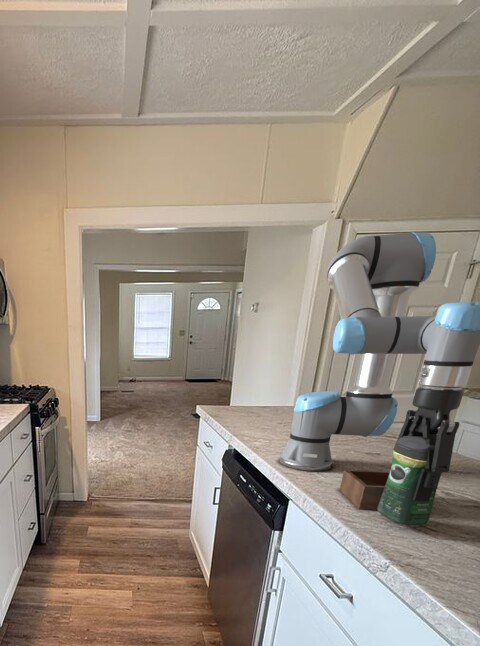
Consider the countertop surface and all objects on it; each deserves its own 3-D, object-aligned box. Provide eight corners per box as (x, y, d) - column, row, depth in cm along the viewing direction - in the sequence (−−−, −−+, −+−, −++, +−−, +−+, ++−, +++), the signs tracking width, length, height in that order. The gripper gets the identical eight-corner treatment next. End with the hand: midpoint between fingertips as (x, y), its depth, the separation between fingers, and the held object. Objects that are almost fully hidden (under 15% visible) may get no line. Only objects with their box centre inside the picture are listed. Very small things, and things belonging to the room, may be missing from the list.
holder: (339, 490, 111) (344, 469, 109) (399, 493, 109) (405, 472, 106) (359, 509, 99) (364, 486, 97) (426, 512, 97) (434, 489, 95)
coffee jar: (434, 527, 86) (464, 444, 79) (397, 528, 87) (423, 444, 79) (403, 509, 95) (427, 432, 88) (370, 509, 96) (391, 433, 88)
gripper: (392, 381, 91) (368, 475, 99) (453, 395, 71) (416, 511, 79) (430, 381, 89) (402, 477, 98) (502, 395, 70) (459, 513, 78)
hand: (408, 492), depth 89 cm, fingers closed on coffee jar, 9 cm apart
